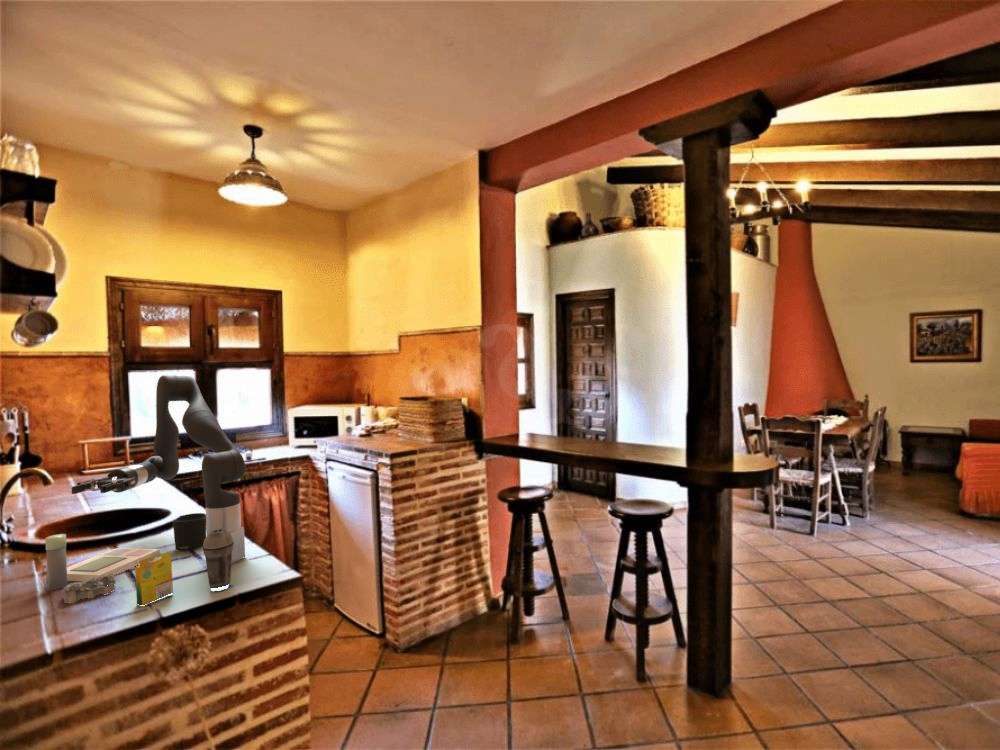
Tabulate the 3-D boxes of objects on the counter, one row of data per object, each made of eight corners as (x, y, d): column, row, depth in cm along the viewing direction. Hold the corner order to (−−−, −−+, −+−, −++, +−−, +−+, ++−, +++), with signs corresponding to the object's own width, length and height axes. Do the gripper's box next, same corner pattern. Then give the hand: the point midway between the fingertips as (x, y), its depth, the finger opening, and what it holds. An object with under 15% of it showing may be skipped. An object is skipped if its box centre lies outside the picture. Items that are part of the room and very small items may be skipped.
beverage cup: (203, 597, 127) (200, 519, 127) (205, 586, 134) (202, 512, 133) (235, 590, 131) (232, 514, 130) (235, 580, 137) (232, 508, 137)
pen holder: (168, 549, 164) (167, 519, 164) (198, 540, 172) (197, 511, 172) (183, 554, 159) (181, 523, 159) (213, 544, 167) (211, 515, 167)
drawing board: (160, 555, 158) (160, 548, 158) (99, 582, 139) (99, 574, 139) (117, 553, 161) (117, 547, 161) (52, 580, 142) (51, 572, 142)
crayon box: (168, 593, 130) (166, 549, 130) (174, 595, 129) (172, 550, 129) (135, 605, 124) (134, 558, 124) (141, 607, 122) (139, 560, 122)
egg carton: (62, 607, 125) (61, 591, 125) (63, 597, 131) (62, 582, 130) (116, 593, 132) (115, 578, 132) (114, 584, 137) (114, 570, 137)
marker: (72, 584, 138) (69, 534, 138) (56, 591, 134) (53, 539, 134) (59, 583, 139) (57, 533, 139) (43, 590, 135) (41, 538, 135)
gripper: (105, 467, 163) (62, 478, 147) (149, 465, 163) (110, 476, 147) (106, 489, 163) (63, 503, 147) (150, 488, 163) (111, 502, 147)
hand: (87, 490), depth 147 cm, fingers open, 8 cm apart
